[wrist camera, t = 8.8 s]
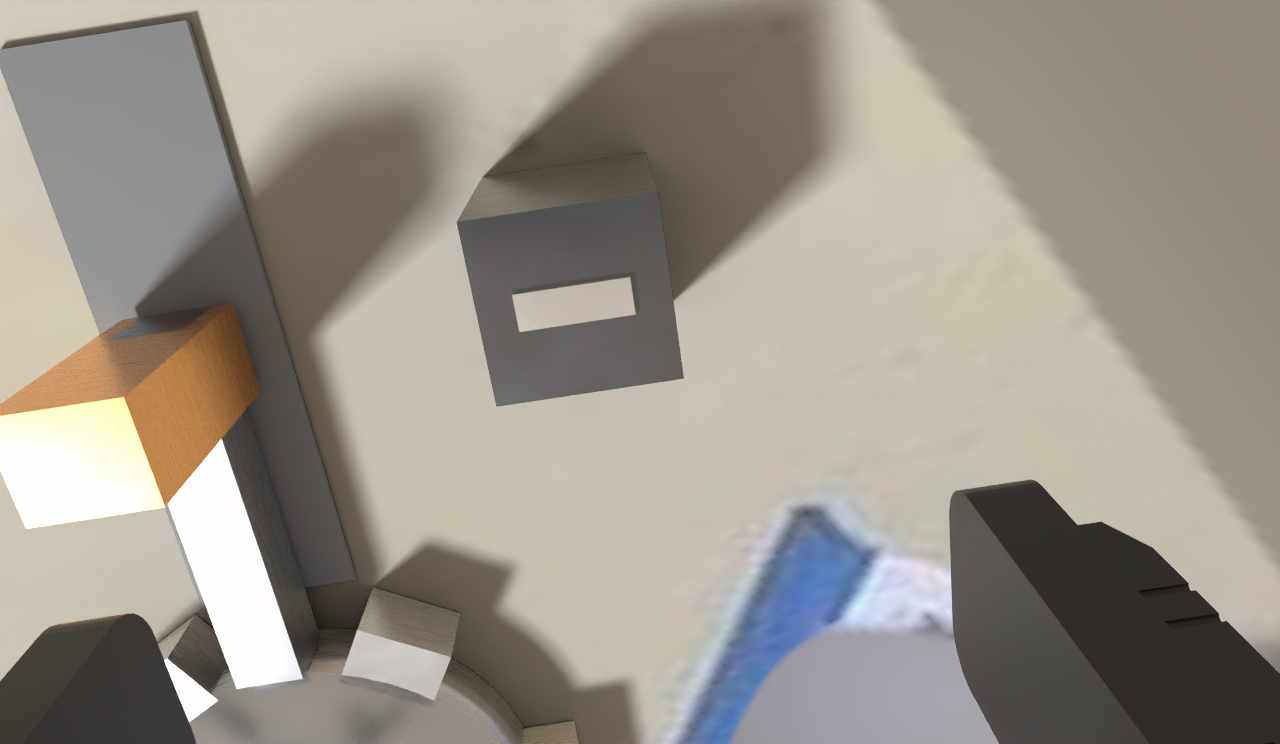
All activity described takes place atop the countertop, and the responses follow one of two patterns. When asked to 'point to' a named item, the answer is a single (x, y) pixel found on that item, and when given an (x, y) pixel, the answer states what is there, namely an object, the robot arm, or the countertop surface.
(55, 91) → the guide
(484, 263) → the grey cube with slot
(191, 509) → the drive pin
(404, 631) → the sprocket
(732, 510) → the countertop surface
